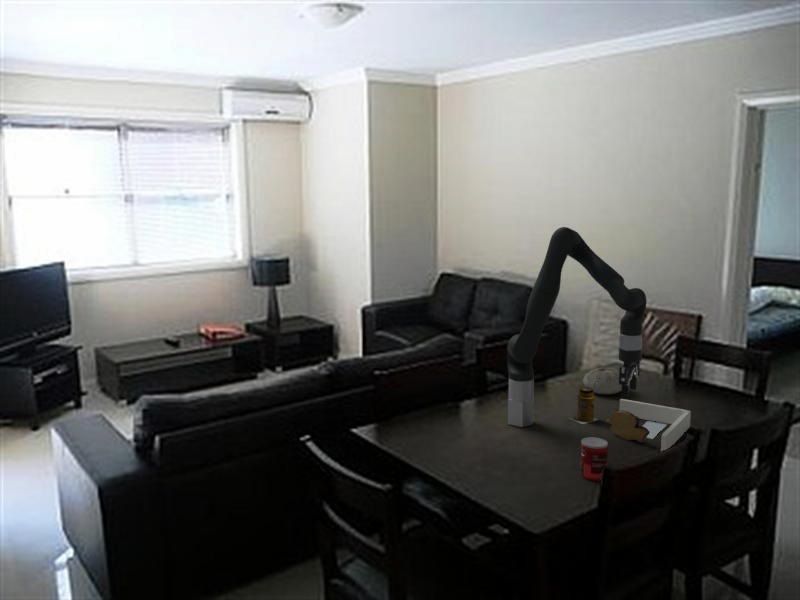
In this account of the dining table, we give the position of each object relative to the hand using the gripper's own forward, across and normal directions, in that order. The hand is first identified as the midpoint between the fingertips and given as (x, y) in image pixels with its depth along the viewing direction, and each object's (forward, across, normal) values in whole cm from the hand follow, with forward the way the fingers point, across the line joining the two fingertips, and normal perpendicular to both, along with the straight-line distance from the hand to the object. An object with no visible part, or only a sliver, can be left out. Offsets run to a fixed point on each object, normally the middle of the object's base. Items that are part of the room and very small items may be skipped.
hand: (628, 392), depth 238 cm
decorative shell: (+17, -48, -26) cm, 57 cm away
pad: (+17, -12, +4) cm, 21 cm away
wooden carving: (+17, 0, 0) cm, 17 cm away
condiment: (+17, -10, -20) cm, 28 cm away
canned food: (+17, +36, +2) cm, 40 cm away
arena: (+17, -9, +2) cm, 19 cm away
